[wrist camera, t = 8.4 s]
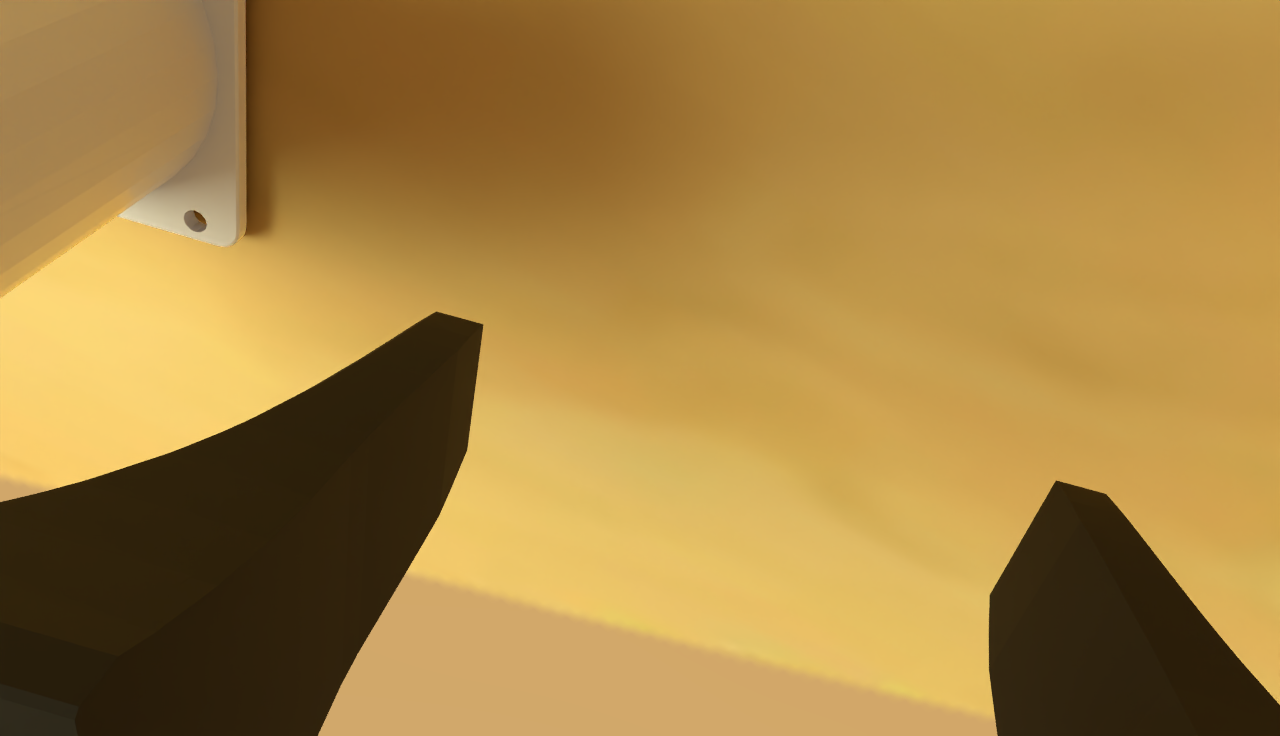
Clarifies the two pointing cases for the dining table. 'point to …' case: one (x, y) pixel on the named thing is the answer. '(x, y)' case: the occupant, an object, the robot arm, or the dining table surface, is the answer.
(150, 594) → the robot arm
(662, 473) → the dining table surface
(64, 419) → the dining table surface
